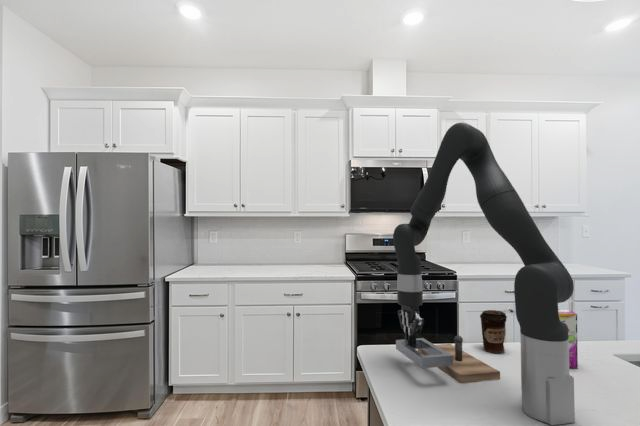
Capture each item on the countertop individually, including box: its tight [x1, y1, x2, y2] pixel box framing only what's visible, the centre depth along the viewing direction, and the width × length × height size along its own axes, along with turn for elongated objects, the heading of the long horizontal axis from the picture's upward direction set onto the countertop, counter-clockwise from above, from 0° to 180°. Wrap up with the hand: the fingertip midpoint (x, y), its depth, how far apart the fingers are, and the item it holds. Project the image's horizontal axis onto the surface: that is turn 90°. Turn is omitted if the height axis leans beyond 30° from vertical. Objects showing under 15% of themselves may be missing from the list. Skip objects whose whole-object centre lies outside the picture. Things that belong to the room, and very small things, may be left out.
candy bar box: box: [558, 309, 579, 369], centre depth 108 cm, size 11×5×16 cm, turn 84°
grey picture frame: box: [395, 337, 453, 369], centre depth 101 cm, size 16×9×3 cm, turn 13°
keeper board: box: [417, 335, 501, 384], centre depth 108 cm, size 24×12×9 cm, turn 12°
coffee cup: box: [479, 309, 508, 354], centre depth 121 cm, size 9×8×13 cm
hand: (410, 346), depth 108 cm, fingers closed on grey picture frame, 1 cm apart
